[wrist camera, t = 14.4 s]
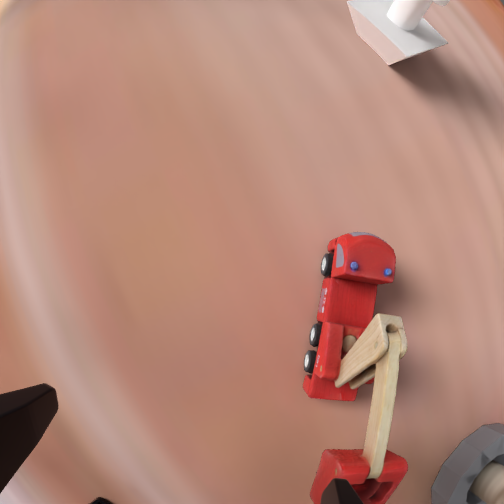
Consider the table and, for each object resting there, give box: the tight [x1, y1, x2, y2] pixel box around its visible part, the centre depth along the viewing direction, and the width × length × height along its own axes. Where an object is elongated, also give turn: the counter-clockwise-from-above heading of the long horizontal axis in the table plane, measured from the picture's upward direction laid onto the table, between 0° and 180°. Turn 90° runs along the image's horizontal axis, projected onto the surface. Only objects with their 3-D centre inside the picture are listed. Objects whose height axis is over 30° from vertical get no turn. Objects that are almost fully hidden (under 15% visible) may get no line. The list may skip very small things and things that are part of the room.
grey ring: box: [431, 423, 504, 504], centre depth 17 cm, size 10×10×3 cm
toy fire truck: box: [303, 232, 408, 504], centre depth 15 cm, size 3×14×10 cm, turn 170°
